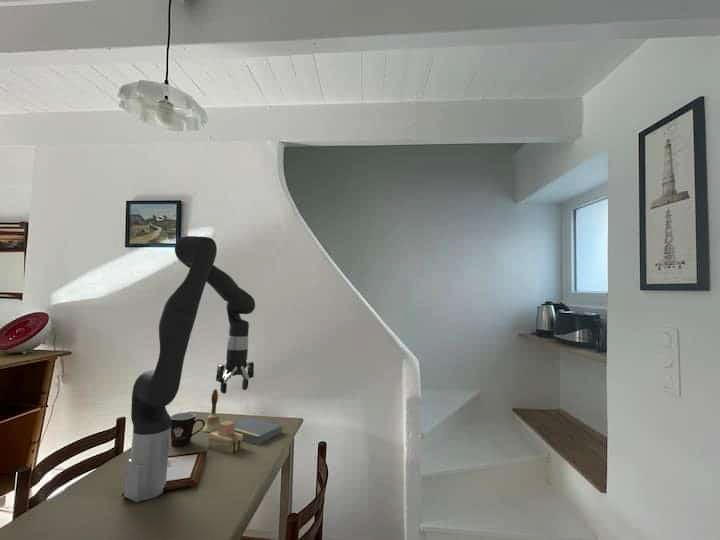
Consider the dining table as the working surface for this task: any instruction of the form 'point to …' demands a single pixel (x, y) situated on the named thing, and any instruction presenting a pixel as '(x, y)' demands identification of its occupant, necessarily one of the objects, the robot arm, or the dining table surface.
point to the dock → (257, 430)
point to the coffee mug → (183, 428)
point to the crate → (226, 428)
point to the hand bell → (212, 416)
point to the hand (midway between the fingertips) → (234, 391)
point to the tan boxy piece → (226, 442)
